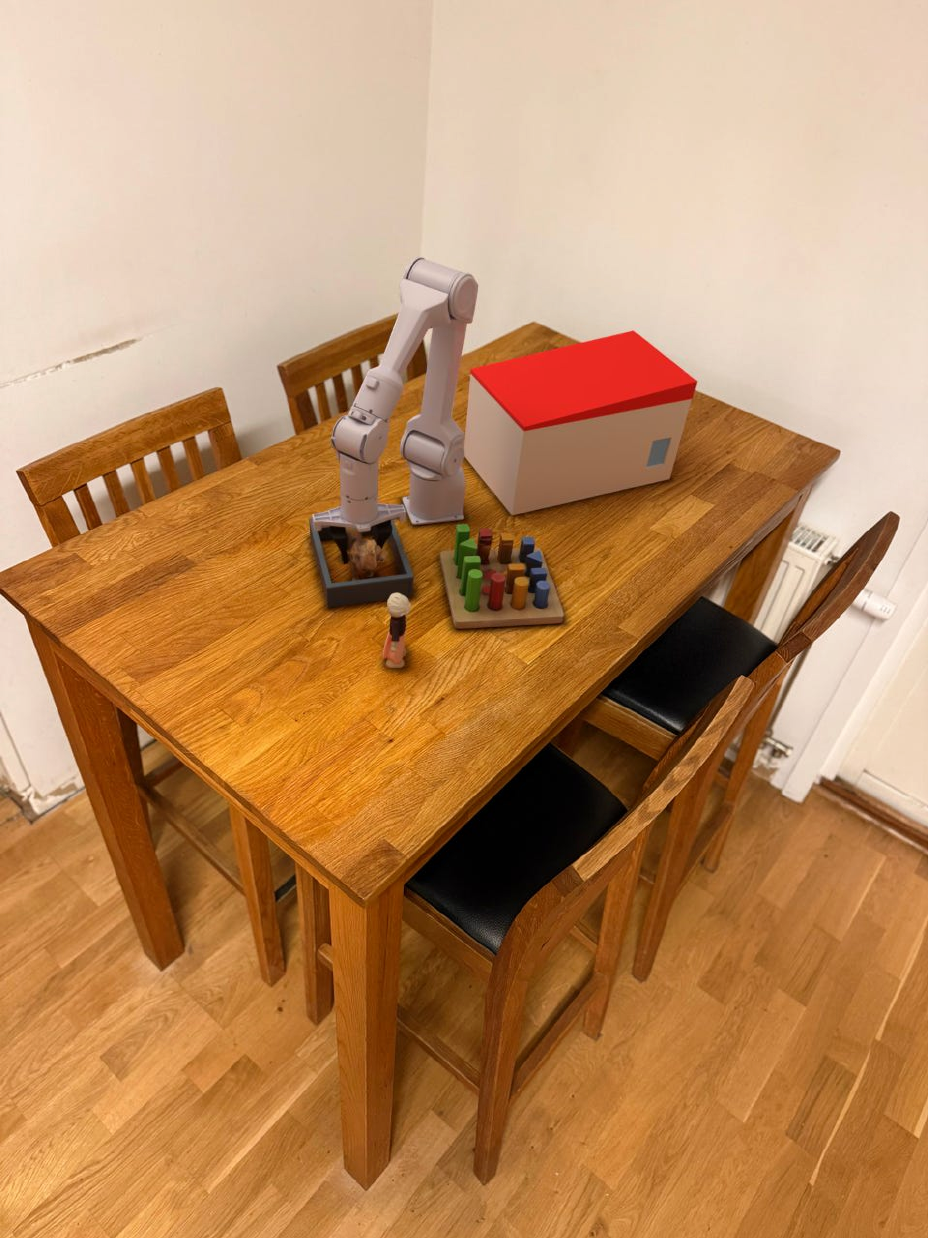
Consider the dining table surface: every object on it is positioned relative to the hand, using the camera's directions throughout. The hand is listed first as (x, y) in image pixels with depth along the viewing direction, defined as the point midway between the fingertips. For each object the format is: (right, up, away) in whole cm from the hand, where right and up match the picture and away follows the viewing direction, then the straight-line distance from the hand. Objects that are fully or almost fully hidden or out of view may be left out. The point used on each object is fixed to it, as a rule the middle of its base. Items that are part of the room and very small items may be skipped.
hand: (359, 558), depth 144 cm
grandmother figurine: (+7, -16, -13) cm, 22 cm away
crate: (0, -1, +1) cm, 2 cm away
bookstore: (+37, +20, +28) cm, 50 cm away
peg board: (+23, -5, 0) cm, 23 cm away
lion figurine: (0, -2, +1) cm, 2 cm away
